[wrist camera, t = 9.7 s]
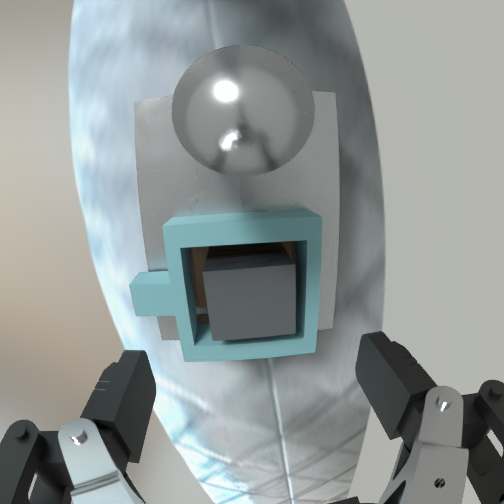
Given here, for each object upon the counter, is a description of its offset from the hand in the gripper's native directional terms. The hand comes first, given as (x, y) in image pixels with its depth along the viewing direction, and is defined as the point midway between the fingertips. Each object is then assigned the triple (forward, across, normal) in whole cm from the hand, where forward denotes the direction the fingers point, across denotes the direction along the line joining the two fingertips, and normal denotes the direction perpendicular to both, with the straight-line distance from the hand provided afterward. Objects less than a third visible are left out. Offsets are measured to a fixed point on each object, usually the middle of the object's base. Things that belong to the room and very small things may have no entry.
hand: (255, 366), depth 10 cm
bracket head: (+8, +1, 0) cm, 8 cm away
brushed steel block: (+12, 0, 0) cm, 12 cm away
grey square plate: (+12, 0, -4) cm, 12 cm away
